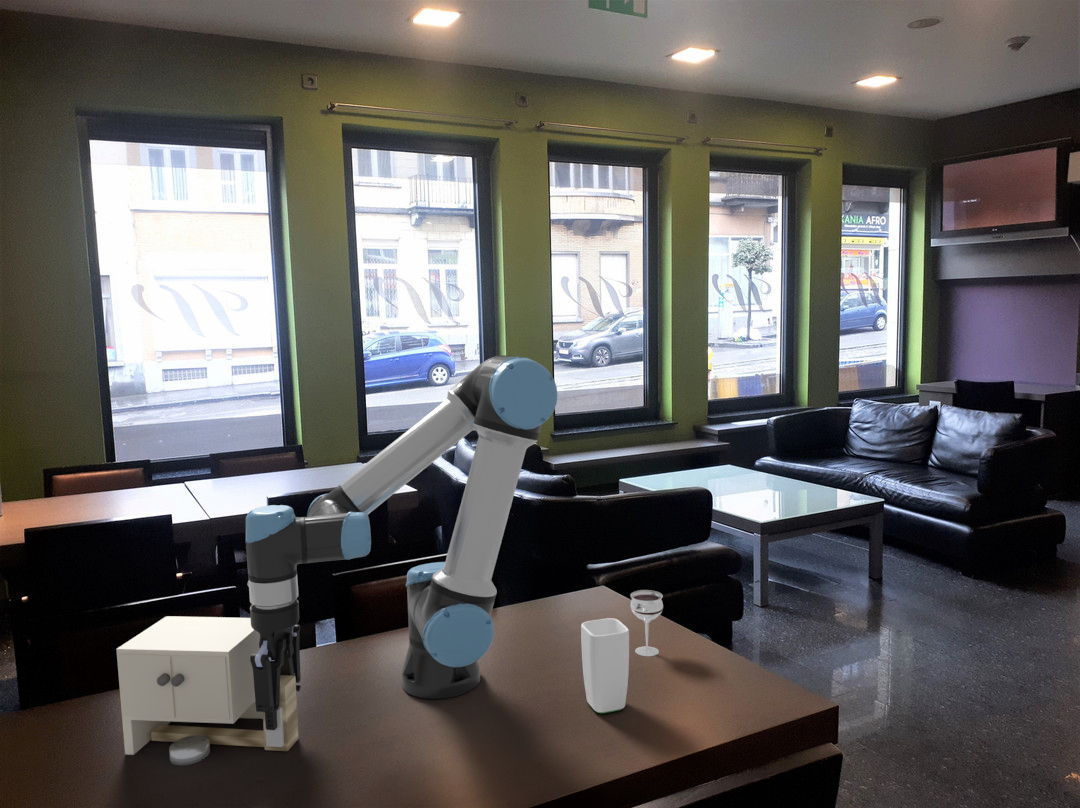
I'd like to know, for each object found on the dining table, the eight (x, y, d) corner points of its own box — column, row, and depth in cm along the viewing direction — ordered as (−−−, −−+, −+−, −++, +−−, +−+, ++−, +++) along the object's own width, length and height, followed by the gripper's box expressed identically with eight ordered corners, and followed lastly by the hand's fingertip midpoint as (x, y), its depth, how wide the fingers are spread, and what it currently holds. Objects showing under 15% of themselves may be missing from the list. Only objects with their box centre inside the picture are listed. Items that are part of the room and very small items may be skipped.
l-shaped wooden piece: (298, 738, 132) (295, 675, 131) (288, 751, 128) (284, 686, 127) (162, 730, 135) (158, 669, 134) (148, 743, 131) (144, 680, 130)
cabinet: (273, 715, 140) (267, 618, 138) (231, 764, 125) (223, 655, 123) (173, 711, 142) (166, 616, 141) (119, 759, 127) (110, 652, 125)
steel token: (217, 745, 131) (216, 735, 131) (198, 766, 125) (197, 755, 125) (182, 744, 131) (181, 734, 131) (162, 764, 125) (161, 754, 125)
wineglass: (640, 641, 169) (640, 587, 167) (669, 649, 165) (668, 593, 163) (624, 653, 163) (624, 597, 162) (653, 660, 159) (653, 603, 158)
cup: (632, 712, 139) (632, 631, 137) (594, 719, 136) (593, 637, 135) (616, 694, 146) (615, 616, 144) (579, 700, 143) (578, 622, 142)
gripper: (275, 583, 137) (282, 711, 139) (225, 620, 120) (234, 765, 122) (317, 584, 136) (323, 713, 138) (272, 622, 119) (280, 768, 121)
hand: (281, 737), depth 130 cm, fingers closed on l-shaped wooden piece, 4 cm apart
